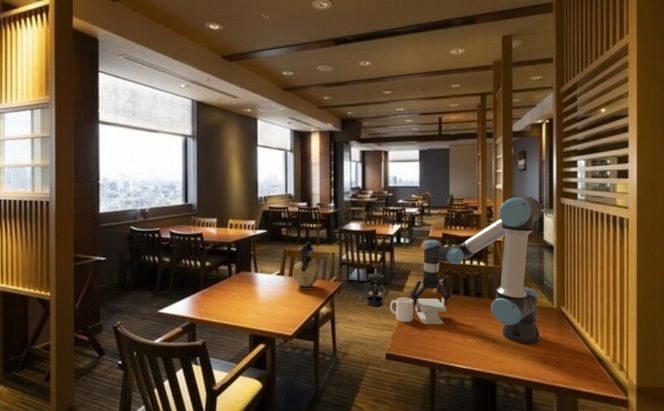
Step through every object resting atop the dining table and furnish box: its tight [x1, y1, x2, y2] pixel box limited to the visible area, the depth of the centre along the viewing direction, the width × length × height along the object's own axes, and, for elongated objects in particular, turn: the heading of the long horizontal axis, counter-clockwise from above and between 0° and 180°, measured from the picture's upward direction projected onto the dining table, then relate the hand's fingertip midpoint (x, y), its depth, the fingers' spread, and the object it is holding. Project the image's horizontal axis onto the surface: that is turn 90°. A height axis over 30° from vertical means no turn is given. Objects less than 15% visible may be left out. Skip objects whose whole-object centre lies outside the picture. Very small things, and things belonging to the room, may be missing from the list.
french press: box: [363, 264, 384, 308], centre depth 204 cm, size 12×9×23 cm
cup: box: [389, 296, 414, 323], centre depth 183 cm, size 8×12×10 cm
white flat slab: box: [418, 298, 447, 312], centre depth 184 cm, size 14×12×2 cm
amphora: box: [292, 240, 320, 290], centre depth 234 cm, size 18×17×30 cm
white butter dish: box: [416, 310, 444, 325], centre depth 184 cm, size 14×10×6 cm
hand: (429, 310), depth 184 cm, fingers open, 13 cm apart
